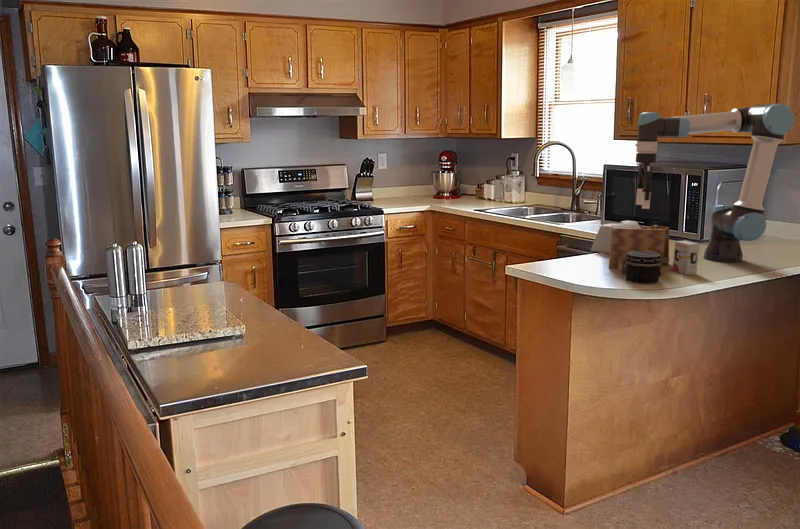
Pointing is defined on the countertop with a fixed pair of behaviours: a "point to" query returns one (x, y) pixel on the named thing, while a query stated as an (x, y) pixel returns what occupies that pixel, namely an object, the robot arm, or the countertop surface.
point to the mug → (666, 244)
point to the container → (643, 267)
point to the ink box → (685, 257)
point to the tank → (609, 235)
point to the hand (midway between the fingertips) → (642, 206)
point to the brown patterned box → (634, 244)
